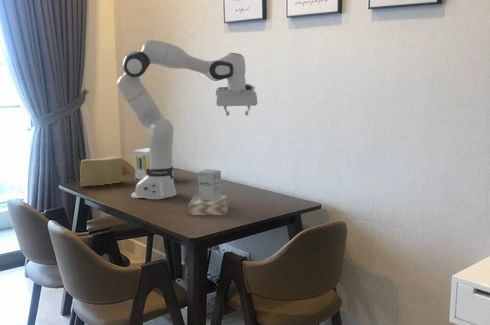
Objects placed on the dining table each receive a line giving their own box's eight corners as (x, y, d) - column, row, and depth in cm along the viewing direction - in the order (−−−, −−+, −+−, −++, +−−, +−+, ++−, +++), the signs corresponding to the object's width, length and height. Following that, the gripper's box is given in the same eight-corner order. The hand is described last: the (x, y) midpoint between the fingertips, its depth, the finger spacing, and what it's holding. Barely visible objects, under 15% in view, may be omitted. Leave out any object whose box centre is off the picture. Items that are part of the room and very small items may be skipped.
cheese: (84, 189, 272) (82, 161, 270) (78, 186, 280) (76, 159, 277) (123, 183, 285) (122, 157, 282) (117, 180, 293) (115, 155, 290)
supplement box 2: (198, 200, 222) (197, 171, 220) (207, 196, 229) (206, 168, 227) (213, 201, 219) (212, 172, 217) (221, 197, 225) (221, 169, 223)
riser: (188, 215, 217) (188, 203, 216) (194, 205, 233) (193, 194, 232) (225, 214, 216) (225, 203, 215) (228, 205, 232) (228, 194, 231)
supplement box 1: (134, 179, 294) (133, 150, 291) (152, 176, 304) (151, 147, 301) (149, 182, 285) (147, 151, 283) (167, 178, 295) (166, 149, 292)
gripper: (214, 87, 246) (215, 115, 248) (257, 86, 245) (257, 115, 247) (216, 87, 252) (216, 115, 255) (257, 86, 251) (257, 114, 253)
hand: (237, 115), depth 251 cm, fingers open, 8 cm apart
